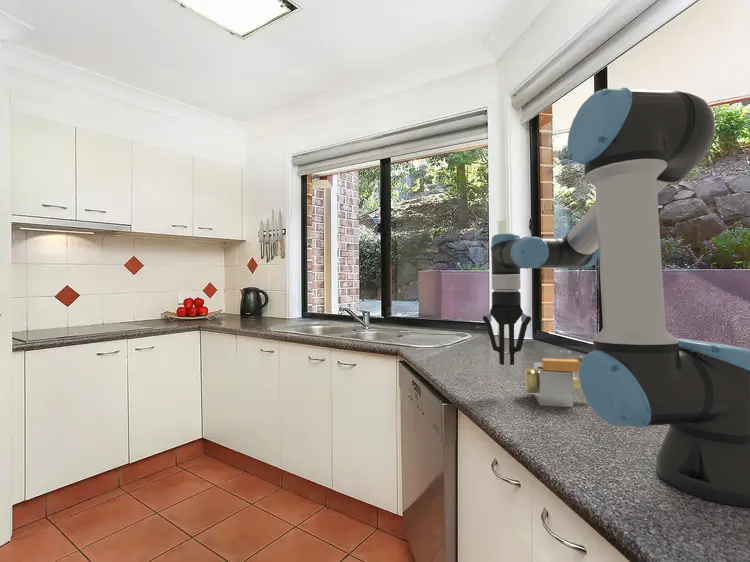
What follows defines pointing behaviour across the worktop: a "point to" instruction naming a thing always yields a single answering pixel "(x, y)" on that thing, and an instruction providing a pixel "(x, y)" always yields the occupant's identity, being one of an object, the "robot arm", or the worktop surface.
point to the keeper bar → (561, 364)
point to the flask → (565, 356)
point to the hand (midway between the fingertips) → (506, 376)
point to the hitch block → (554, 387)
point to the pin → (532, 381)
